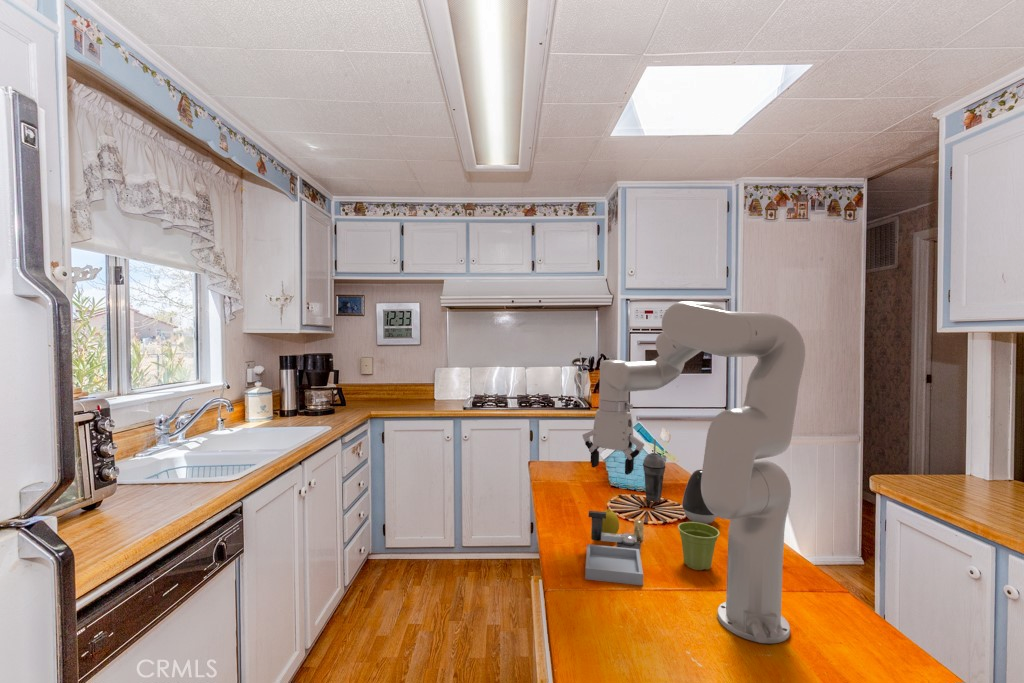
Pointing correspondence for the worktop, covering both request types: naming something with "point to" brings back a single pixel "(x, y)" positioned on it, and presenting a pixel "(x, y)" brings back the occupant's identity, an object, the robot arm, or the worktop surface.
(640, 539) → the crank base
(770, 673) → the worktop surface
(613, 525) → the lemon
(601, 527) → the crank handle
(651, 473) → the beverage cup
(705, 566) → the plant pot
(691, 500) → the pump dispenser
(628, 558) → the tray
